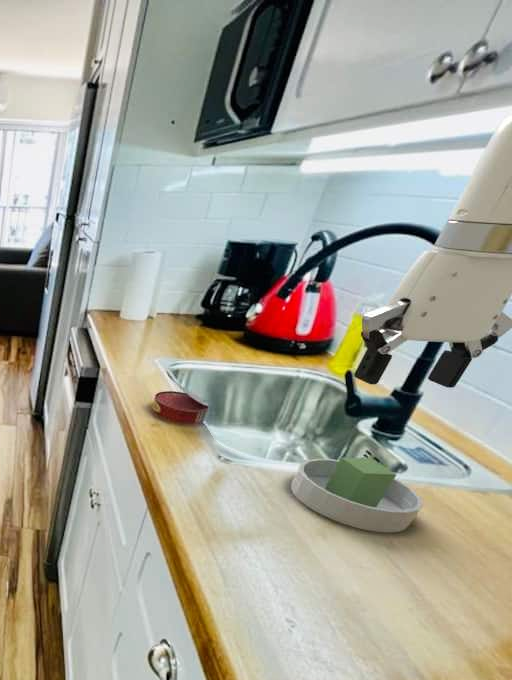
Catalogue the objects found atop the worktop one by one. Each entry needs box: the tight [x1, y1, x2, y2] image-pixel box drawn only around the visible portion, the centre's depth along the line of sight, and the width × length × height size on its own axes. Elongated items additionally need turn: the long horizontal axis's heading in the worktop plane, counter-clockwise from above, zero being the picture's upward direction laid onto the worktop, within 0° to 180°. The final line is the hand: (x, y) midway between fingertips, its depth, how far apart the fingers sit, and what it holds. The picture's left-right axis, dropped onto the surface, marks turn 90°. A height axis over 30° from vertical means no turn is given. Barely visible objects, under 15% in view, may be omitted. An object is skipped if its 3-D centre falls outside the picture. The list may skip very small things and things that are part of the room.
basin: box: [290, 458, 424, 533], centre depth 71 cm, size 14×14×4 cm
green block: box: [325, 457, 397, 508], centre depth 70 cm, size 4×4×6 cm
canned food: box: [150, 370, 210, 426], centre depth 97 cm, size 11×10×10 cm
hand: (402, 382), depth 63 cm, fingers open, 9 cm apart
